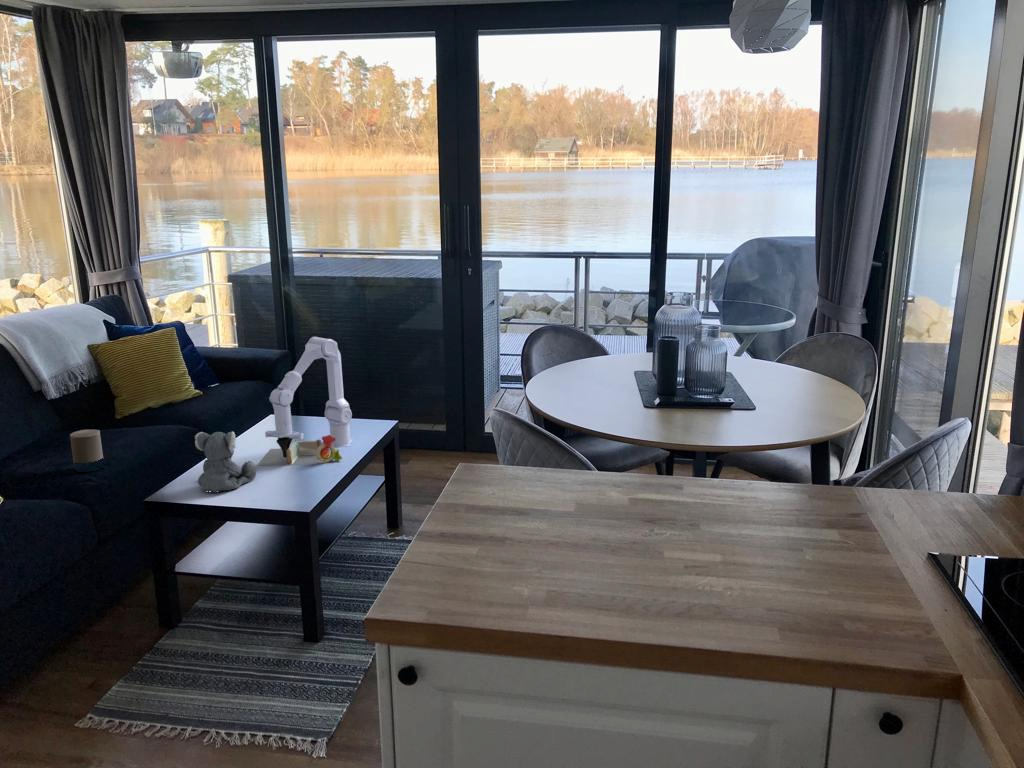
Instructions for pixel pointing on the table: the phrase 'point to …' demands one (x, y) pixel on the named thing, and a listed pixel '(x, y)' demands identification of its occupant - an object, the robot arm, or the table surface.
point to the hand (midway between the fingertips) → (286, 456)
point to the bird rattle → (324, 453)
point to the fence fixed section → (308, 447)
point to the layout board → (277, 459)
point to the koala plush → (222, 463)
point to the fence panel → (292, 452)
